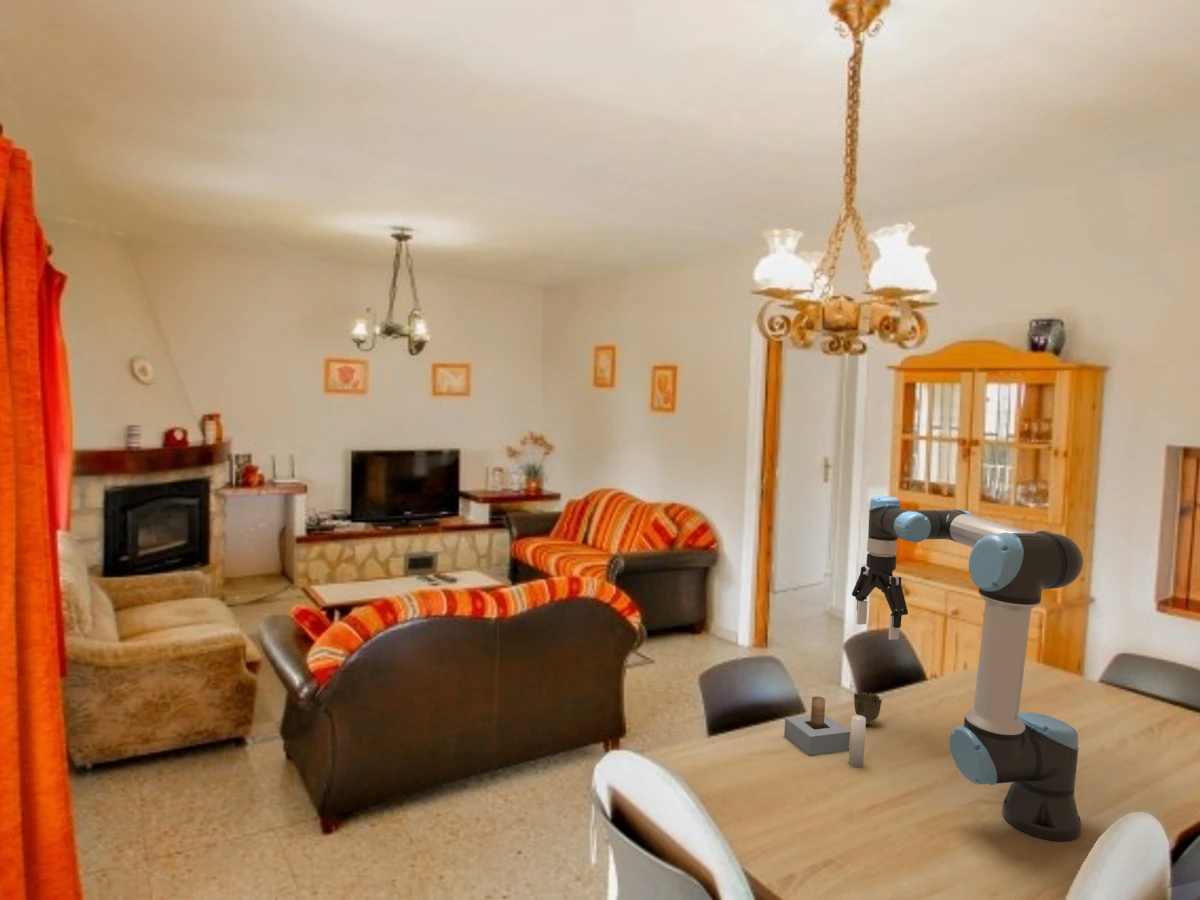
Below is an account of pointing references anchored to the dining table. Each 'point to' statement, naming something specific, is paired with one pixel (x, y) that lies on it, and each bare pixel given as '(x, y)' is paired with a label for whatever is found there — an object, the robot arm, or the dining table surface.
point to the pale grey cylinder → (857, 740)
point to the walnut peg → (817, 713)
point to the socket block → (817, 735)
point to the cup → (867, 706)
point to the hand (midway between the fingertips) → (877, 631)
